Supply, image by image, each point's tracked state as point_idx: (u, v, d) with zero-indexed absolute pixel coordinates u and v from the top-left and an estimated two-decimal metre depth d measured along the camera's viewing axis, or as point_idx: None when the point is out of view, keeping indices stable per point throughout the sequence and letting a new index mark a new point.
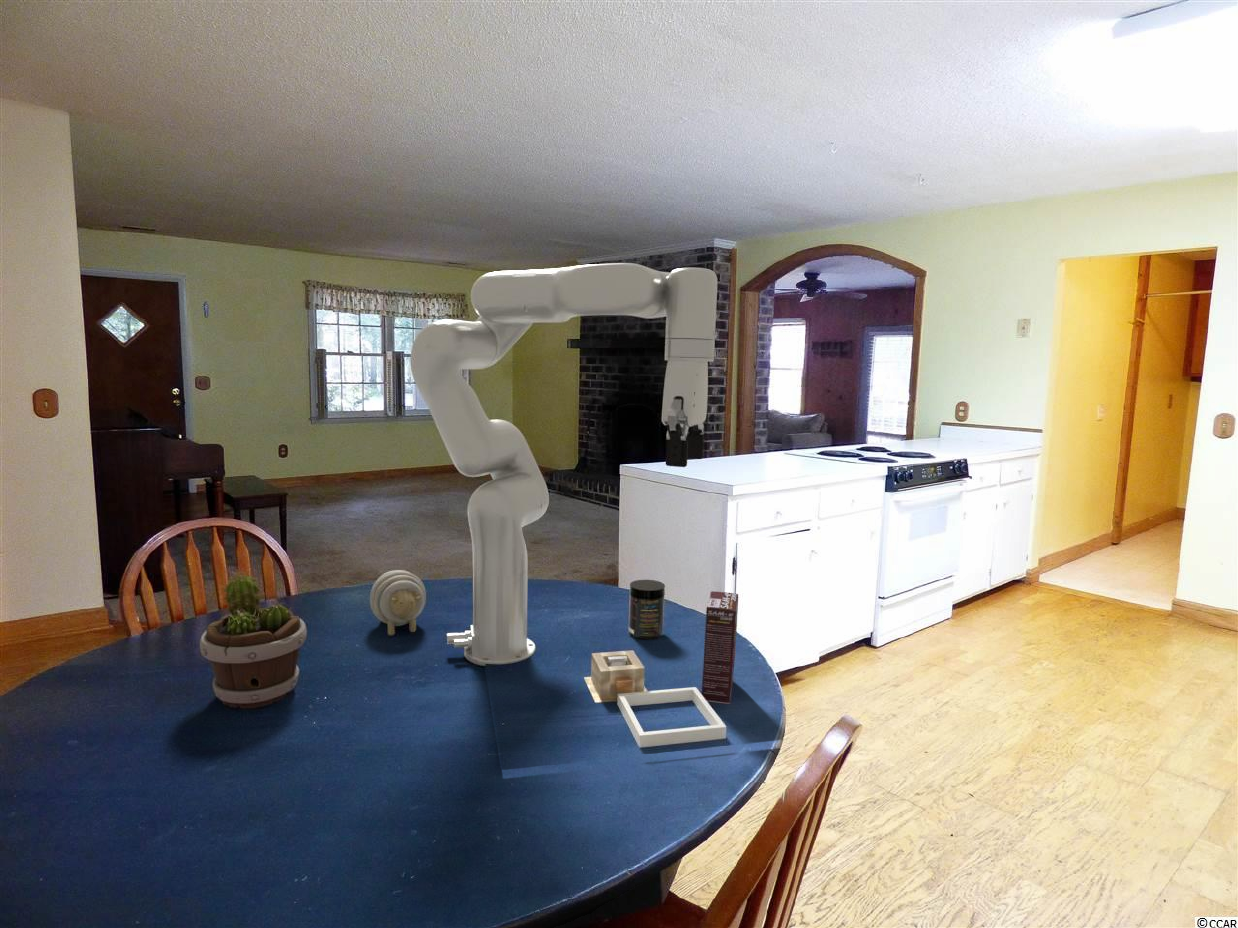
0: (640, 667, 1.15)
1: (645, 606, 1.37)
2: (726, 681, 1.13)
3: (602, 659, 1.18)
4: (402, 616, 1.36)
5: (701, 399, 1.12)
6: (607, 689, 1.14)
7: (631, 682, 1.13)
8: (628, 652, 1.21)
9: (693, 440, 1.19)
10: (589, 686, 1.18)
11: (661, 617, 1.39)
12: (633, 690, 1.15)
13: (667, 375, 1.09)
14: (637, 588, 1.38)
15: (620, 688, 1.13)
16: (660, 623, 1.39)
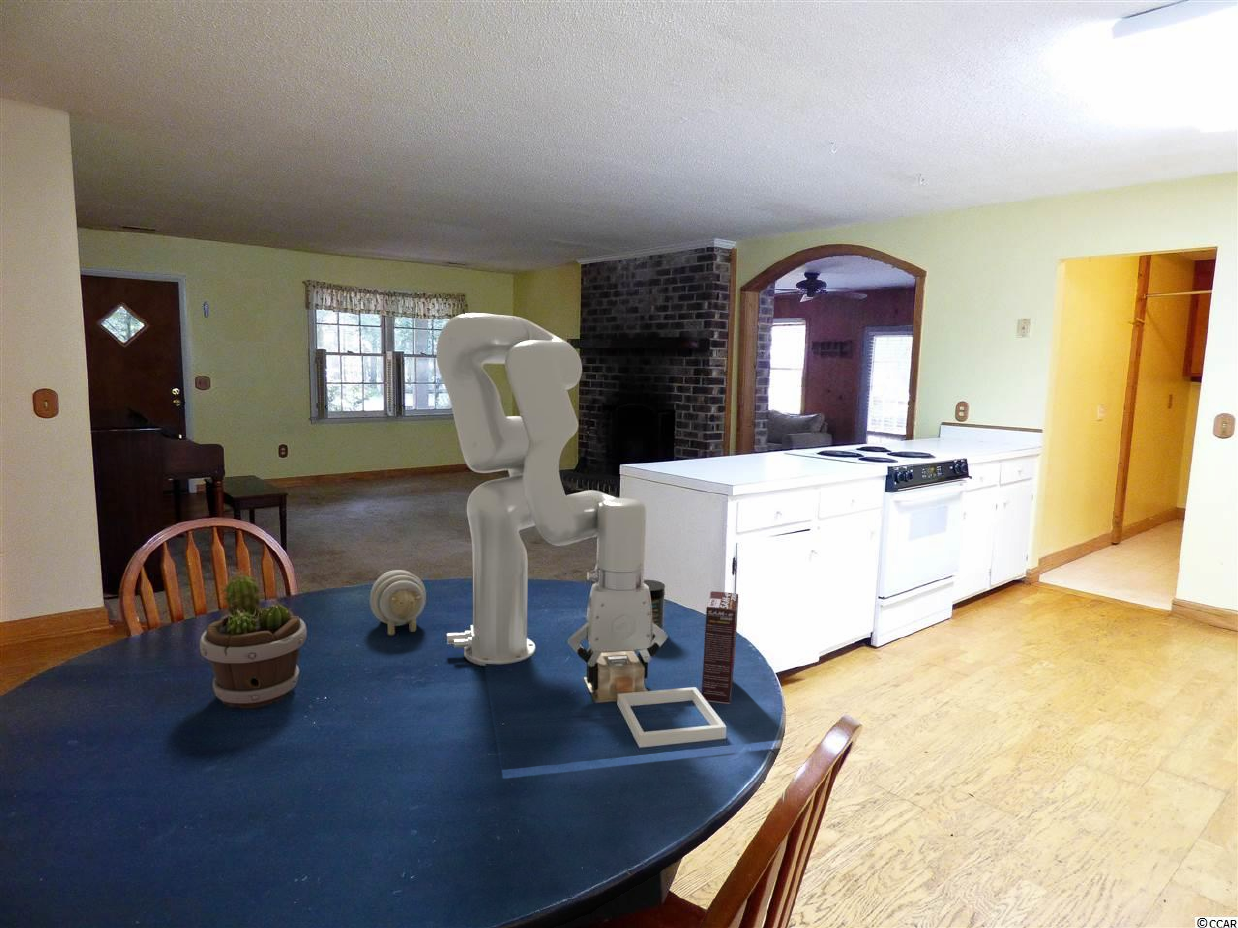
0: (640, 667, 1.15)
1: None
2: (726, 681, 1.13)
3: (602, 659, 1.18)
4: (402, 616, 1.36)
5: None
6: (607, 689, 1.14)
7: (631, 682, 1.13)
8: (628, 652, 1.21)
9: None
10: (589, 686, 1.18)
11: (661, 617, 1.39)
12: (633, 690, 1.15)
13: (650, 602, 1.15)
14: None
15: (620, 688, 1.13)
16: (660, 623, 1.39)
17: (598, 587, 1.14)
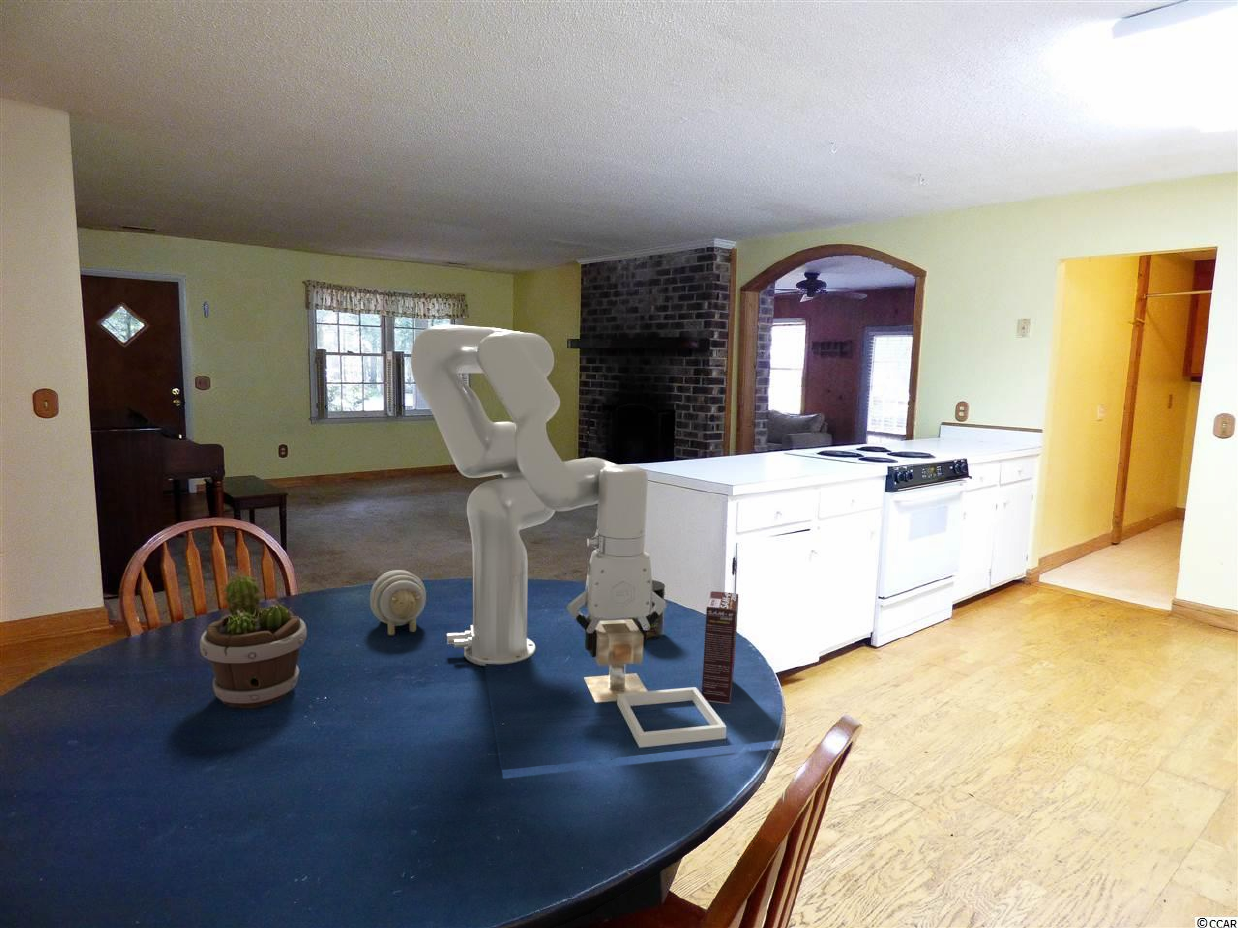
0: (639, 635, 1.14)
1: None
2: (726, 681, 1.13)
3: (601, 627, 1.17)
4: (402, 616, 1.36)
5: None
6: (606, 656, 1.13)
7: (630, 649, 1.12)
8: (627, 621, 1.20)
9: None
10: (589, 686, 1.18)
11: (661, 617, 1.39)
12: (632, 658, 1.14)
13: (650, 569, 1.14)
14: None
15: (619, 655, 1.12)
16: (660, 623, 1.39)
17: (598, 553, 1.13)
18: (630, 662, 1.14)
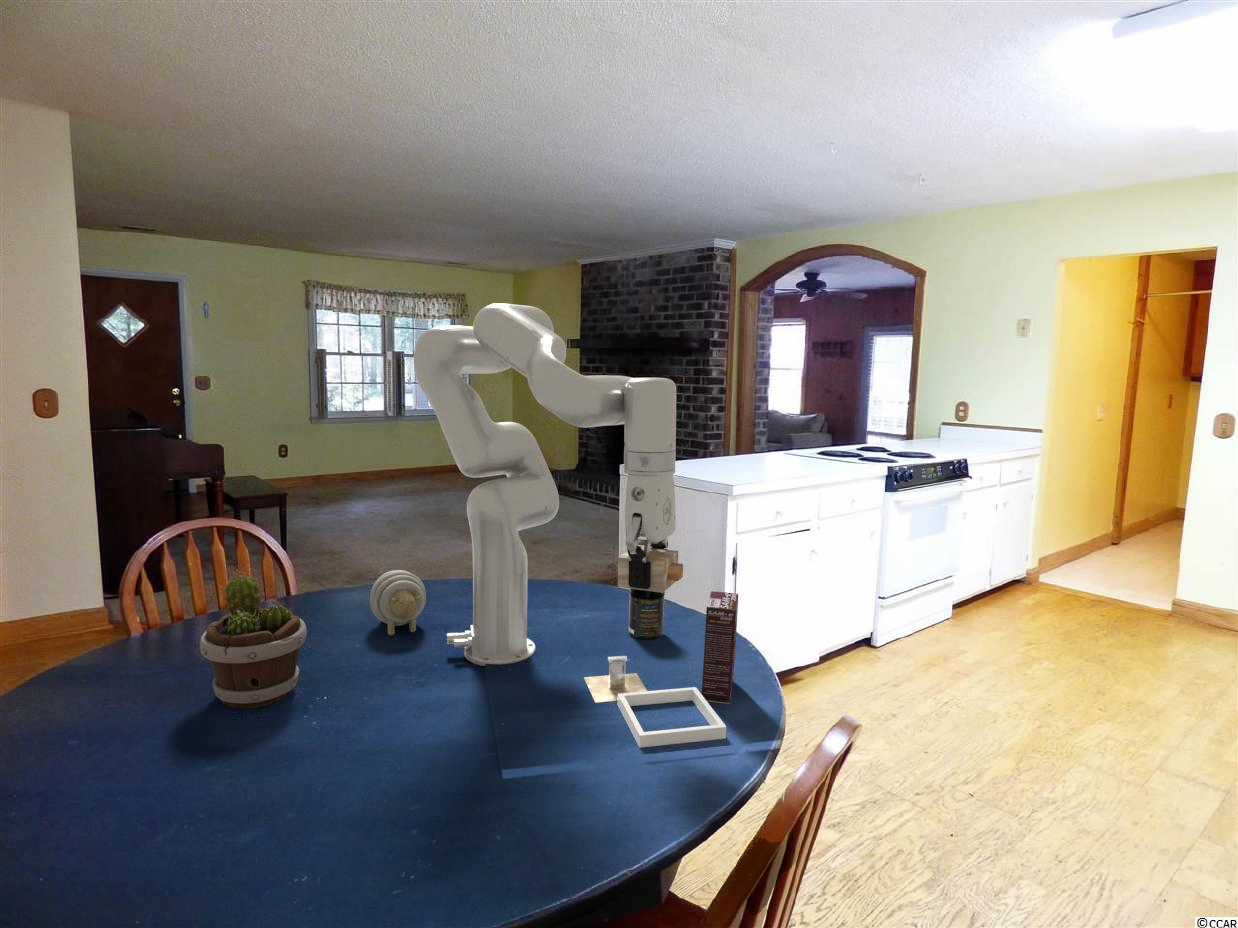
0: (675, 551, 1.11)
1: (645, 606, 1.37)
2: (726, 681, 1.13)
3: None
4: (402, 616, 1.36)
5: None
6: (665, 580, 1.06)
7: (682, 565, 1.09)
8: None
9: None
10: (589, 686, 1.18)
11: (661, 617, 1.39)
12: None
13: None
14: None
15: (679, 574, 1.07)
16: (660, 623, 1.39)
17: (646, 474, 1.04)
18: (673, 581, 1.10)
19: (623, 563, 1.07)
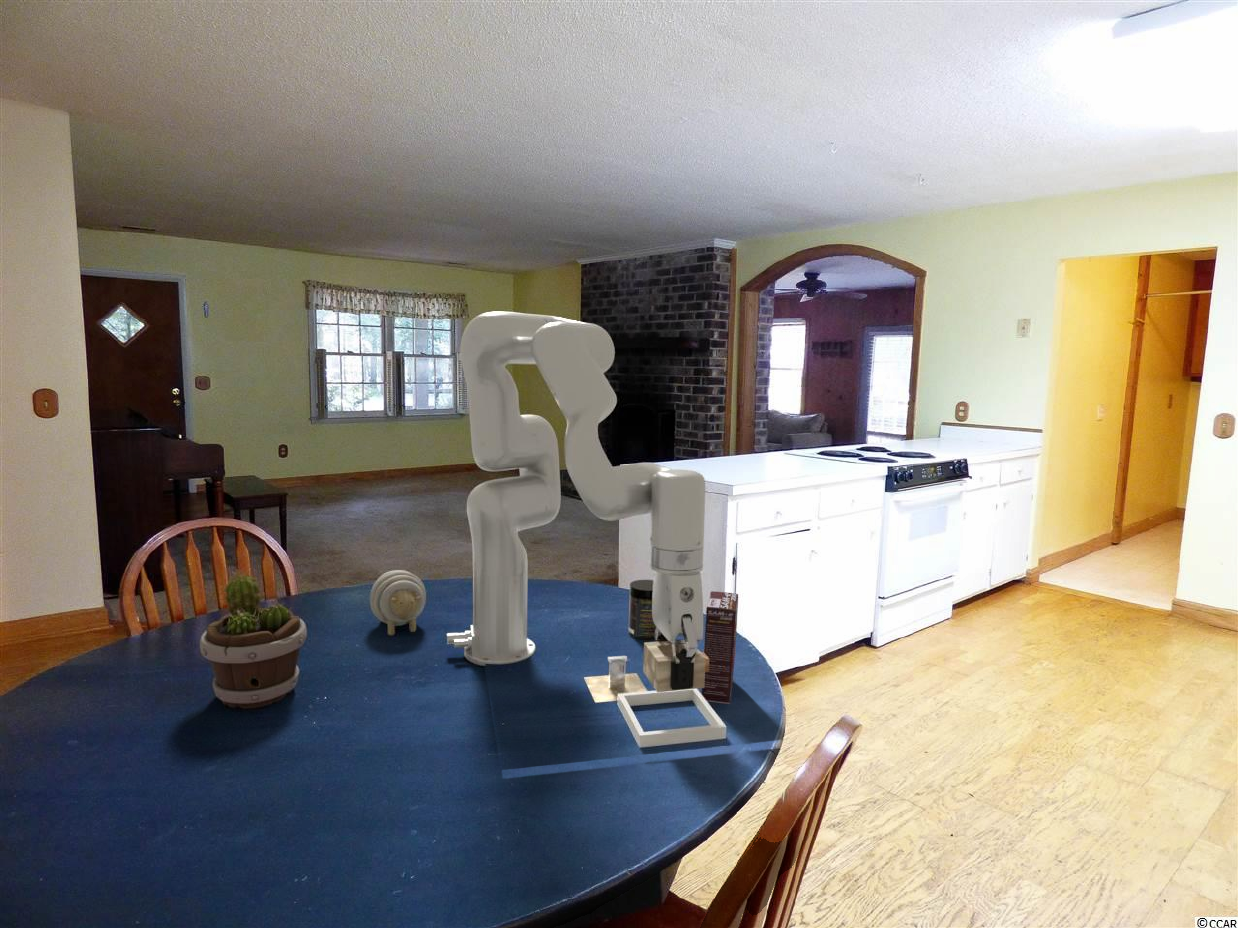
0: None
1: (645, 606, 1.37)
2: (726, 681, 1.13)
3: None
4: (402, 616, 1.36)
5: (657, 605, 1.05)
6: None
7: None
8: (650, 644, 1.08)
9: None
10: (589, 686, 1.18)
11: None
12: None
13: None
14: (637, 587, 1.38)
15: None
16: None
17: (690, 572, 1.01)
18: None
19: (663, 666, 1.02)
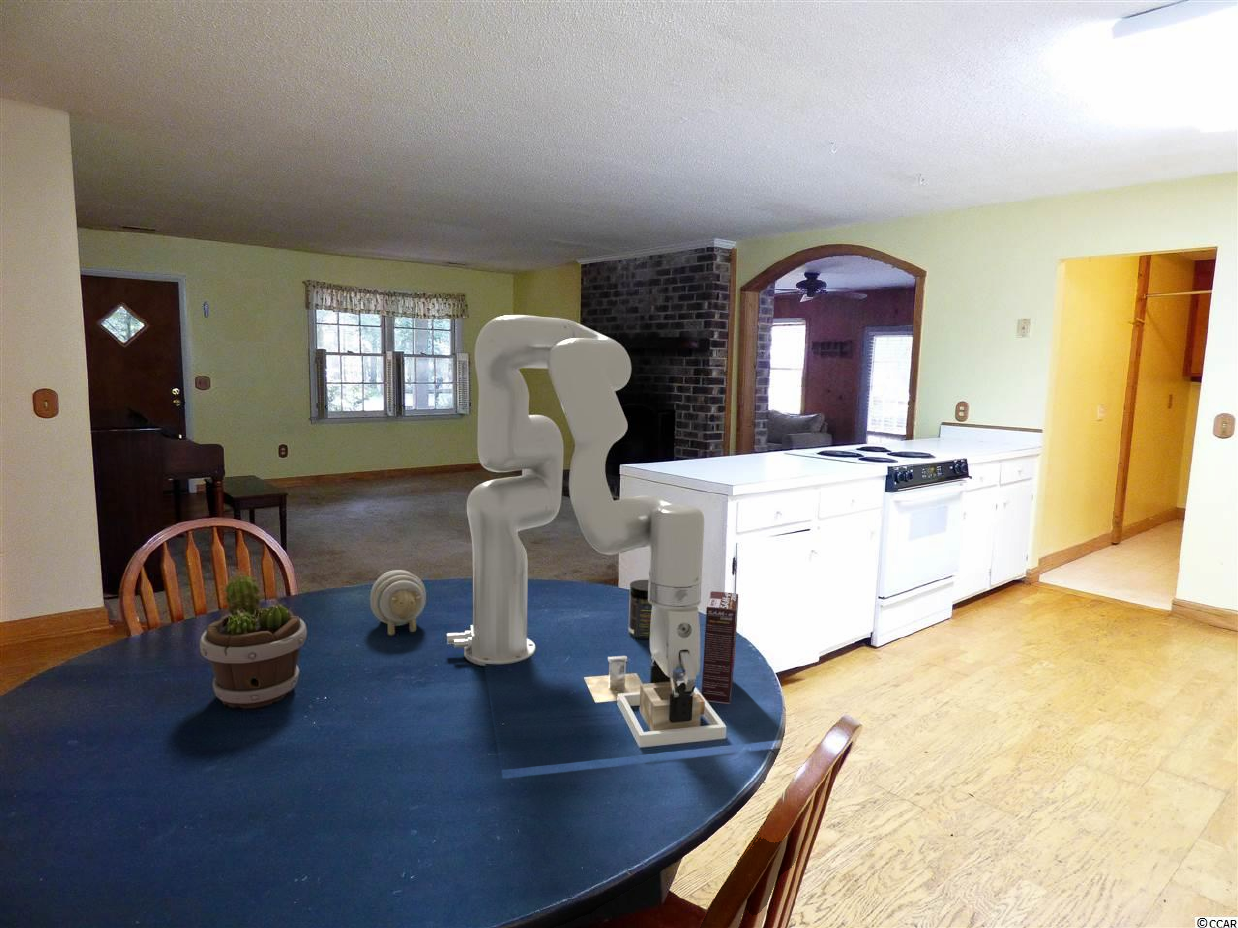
0: None
1: (645, 606, 1.37)
2: (726, 681, 1.13)
3: (669, 700, 1.05)
4: (402, 616, 1.36)
5: (654, 638, 1.06)
6: None
7: (699, 696, 1.10)
8: (646, 686, 1.09)
9: None
10: (589, 686, 1.18)
11: None
12: None
13: None
14: (637, 587, 1.38)
15: None
16: None
17: (688, 607, 1.02)
18: None
19: (660, 711, 1.03)
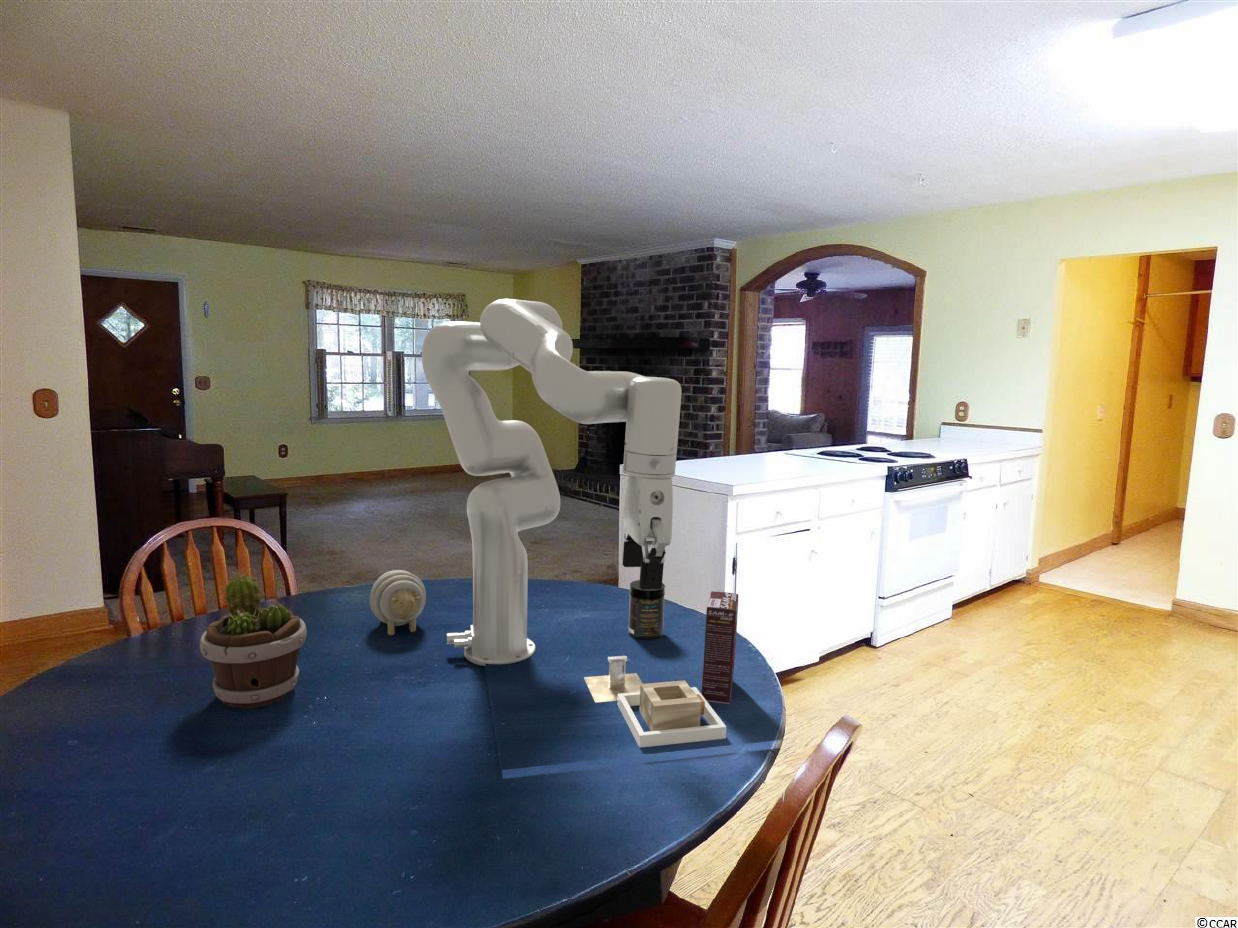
0: (684, 682, 1.11)
1: (645, 606, 1.37)
2: (726, 681, 1.13)
3: (669, 700, 1.05)
4: (402, 616, 1.36)
5: (628, 510, 1.07)
6: None
7: (699, 696, 1.10)
8: (646, 686, 1.09)
9: None
10: (589, 686, 1.18)
11: (661, 617, 1.39)
12: None
13: None
14: (637, 588, 1.38)
15: None
16: (660, 623, 1.39)
17: (662, 476, 1.03)
18: None
19: (660, 711, 1.03)
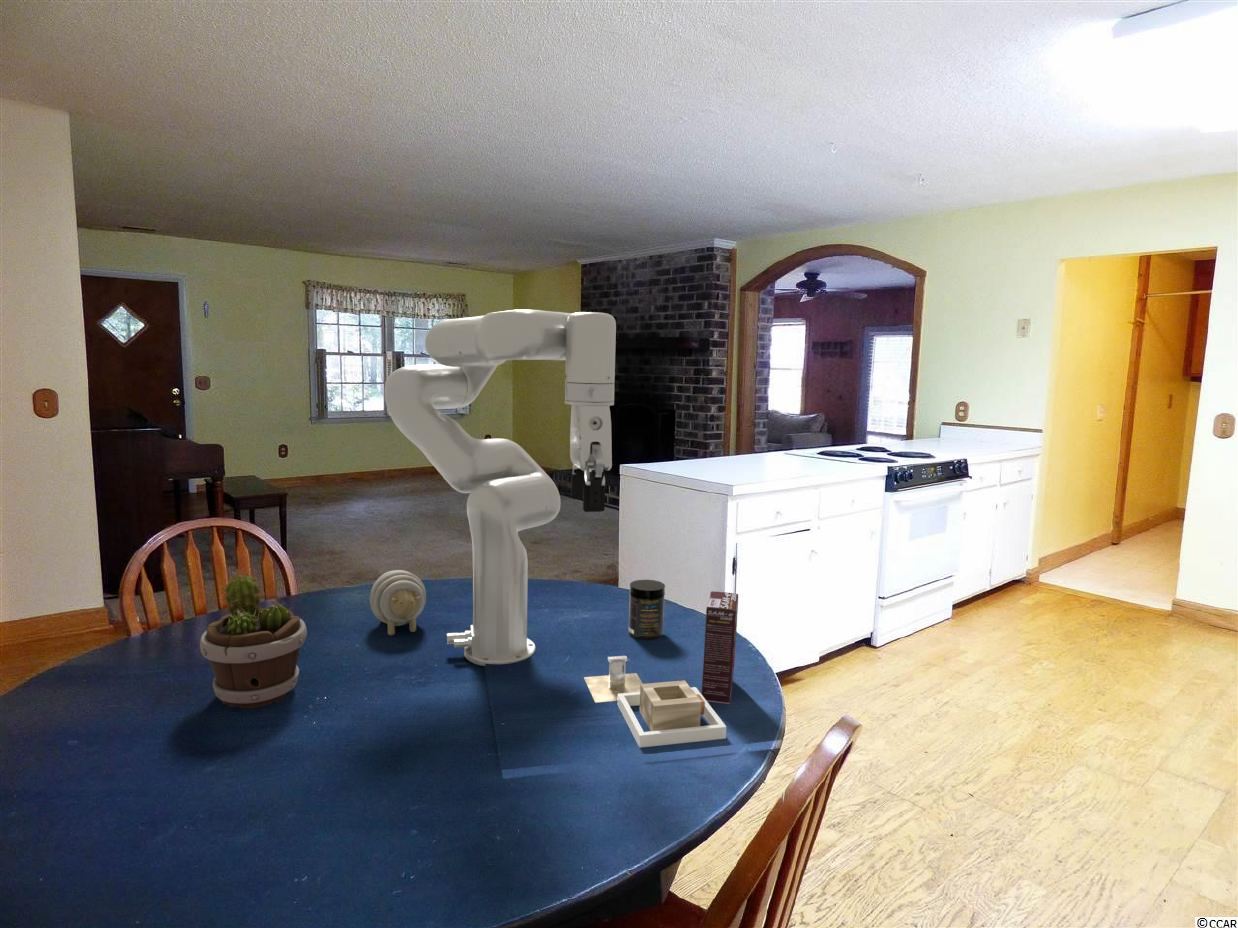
0: (684, 682, 1.11)
1: (645, 606, 1.37)
2: (726, 681, 1.13)
3: (669, 700, 1.05)
4: (402, 616, 1.36)
5: (572, 440, 1.14)
6: None
7: (699, 696, 1.10)
8: (646, 686, 1.09)
9: None
10: (589, 686, 1.18)
11: (661, 617, 1.39)
12: None
13: None
14: (637, 588, 1.38)
15: None
16: (660, 623, 1.39)
17: (600, 404, 1.09)
18: None
19: (660, 711, 1.03)
